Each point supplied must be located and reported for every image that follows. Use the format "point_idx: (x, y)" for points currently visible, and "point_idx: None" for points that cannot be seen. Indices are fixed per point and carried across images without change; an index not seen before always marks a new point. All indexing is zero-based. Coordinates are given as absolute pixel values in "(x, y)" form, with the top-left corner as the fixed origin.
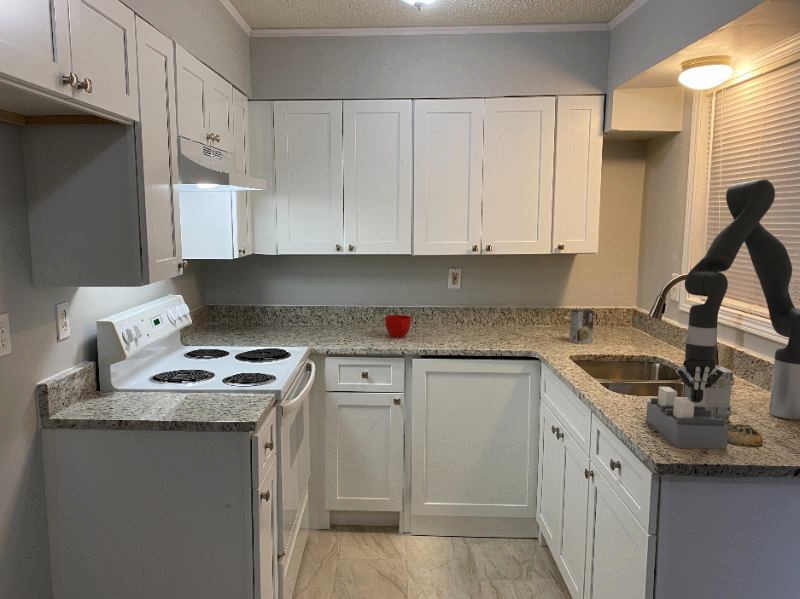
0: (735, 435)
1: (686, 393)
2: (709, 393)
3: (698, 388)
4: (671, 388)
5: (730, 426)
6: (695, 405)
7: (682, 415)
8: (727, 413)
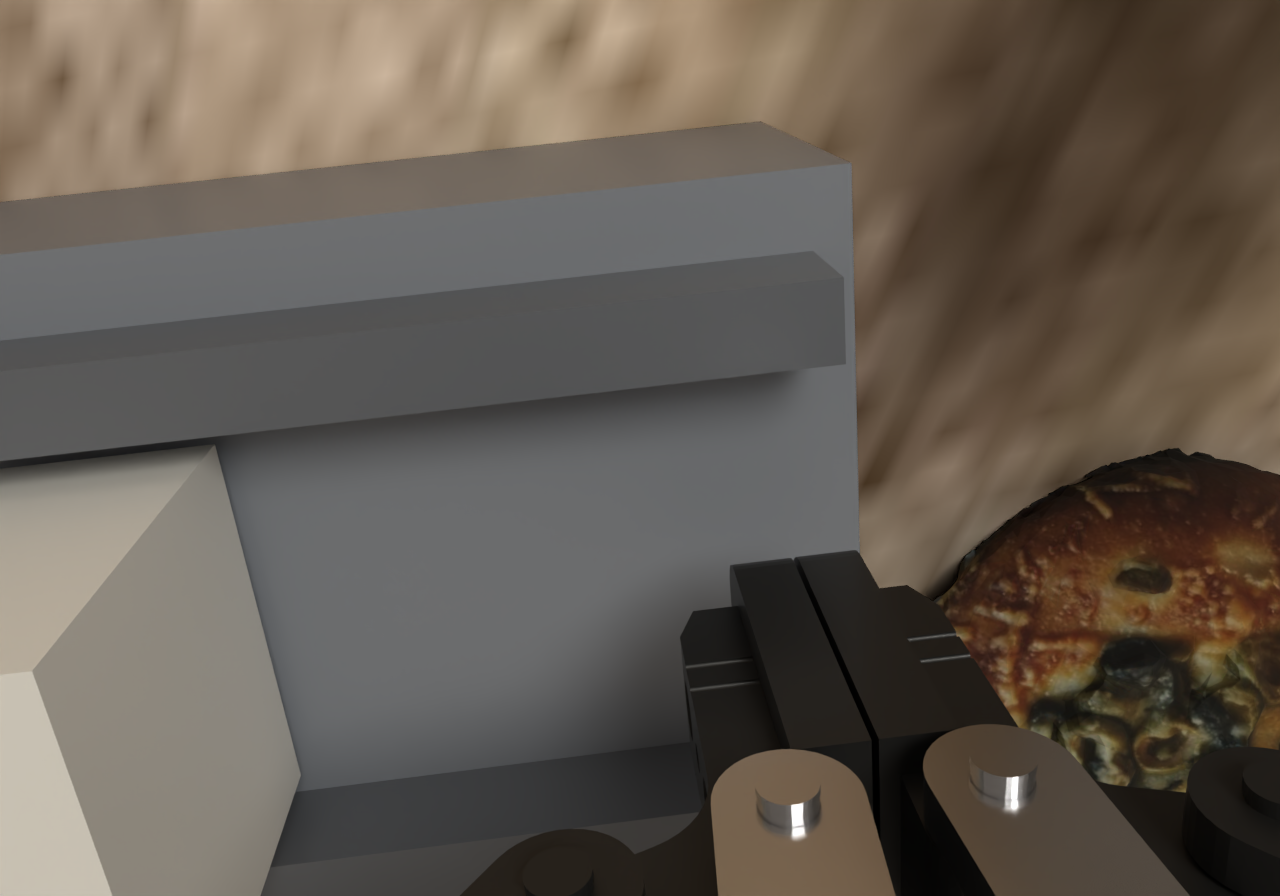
0: None
1: None
2: None
3: (910, 870)
4: (74, 830)
5: (1096, 767)
6: (836, 374)
7: None
8: None
